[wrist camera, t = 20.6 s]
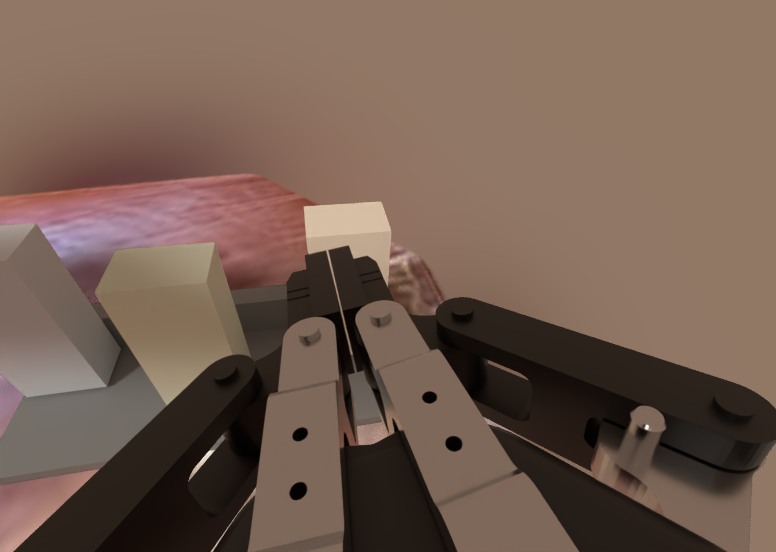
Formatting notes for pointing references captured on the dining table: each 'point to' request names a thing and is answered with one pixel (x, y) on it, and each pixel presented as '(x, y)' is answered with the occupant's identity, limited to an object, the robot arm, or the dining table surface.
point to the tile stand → (132, 401)
